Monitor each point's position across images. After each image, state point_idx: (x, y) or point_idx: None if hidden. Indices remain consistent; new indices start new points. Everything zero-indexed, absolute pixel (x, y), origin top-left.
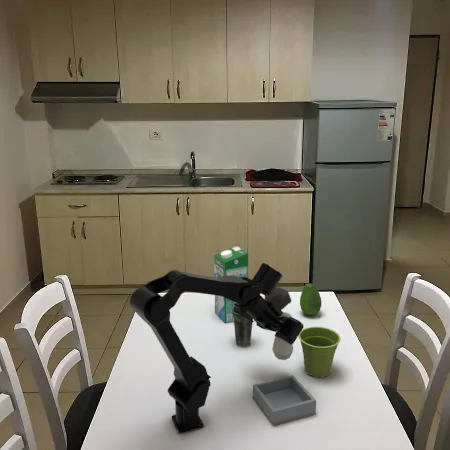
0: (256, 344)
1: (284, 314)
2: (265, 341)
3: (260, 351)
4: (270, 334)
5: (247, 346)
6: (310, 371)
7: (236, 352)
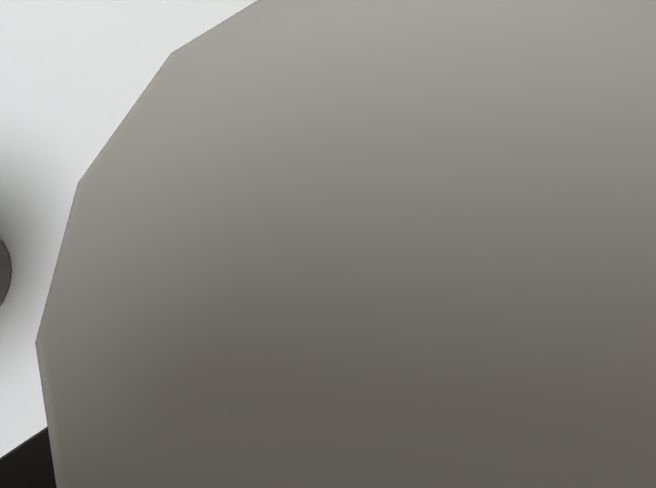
0: (32, 204)
1: (464, 339)
2: (46, 127)
3: None
4: (10, 41)
5: (9, 276)
6: None
7: (10, 395)
